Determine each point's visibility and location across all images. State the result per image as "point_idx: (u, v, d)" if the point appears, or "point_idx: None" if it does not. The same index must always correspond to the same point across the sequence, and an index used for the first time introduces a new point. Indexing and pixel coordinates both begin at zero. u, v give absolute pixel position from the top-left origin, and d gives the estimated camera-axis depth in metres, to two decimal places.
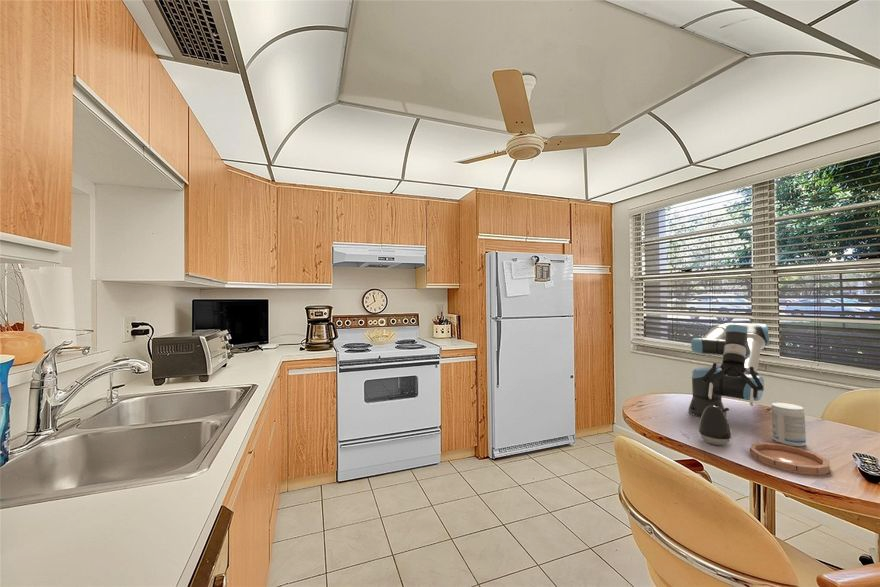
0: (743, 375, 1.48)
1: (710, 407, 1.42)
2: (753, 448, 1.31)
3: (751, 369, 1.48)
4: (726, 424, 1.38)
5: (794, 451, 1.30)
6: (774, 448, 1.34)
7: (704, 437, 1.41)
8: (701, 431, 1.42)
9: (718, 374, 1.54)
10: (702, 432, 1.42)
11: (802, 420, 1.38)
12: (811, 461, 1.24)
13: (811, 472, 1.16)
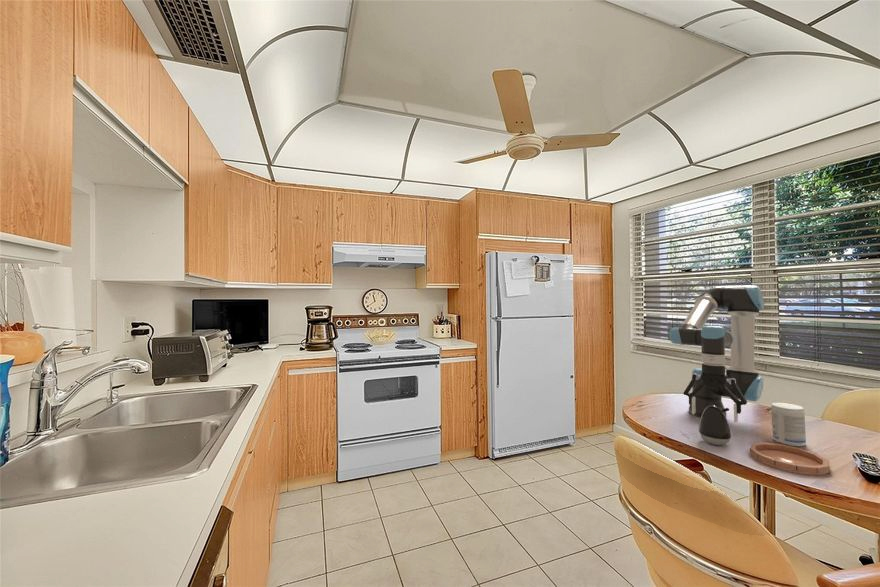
0: (725, 389, 1.38)
1: (710, 407, 1.42)
2: (753, 448, 1.31)
3: (732, 382, 1.37)
4: (726, 424, 1.38)
5: (794, 451, 1.30)
6: (774, 448, 1.34)
7: (704, 437, 1.41)
8: (701, 431, 1.42)
9: (699, 388, 1.45)
10: (702, 432, 1.42)
11: (802, 420, 1.38)
12: (811, 461, 1.24)
13: (811, 472, 1.16)
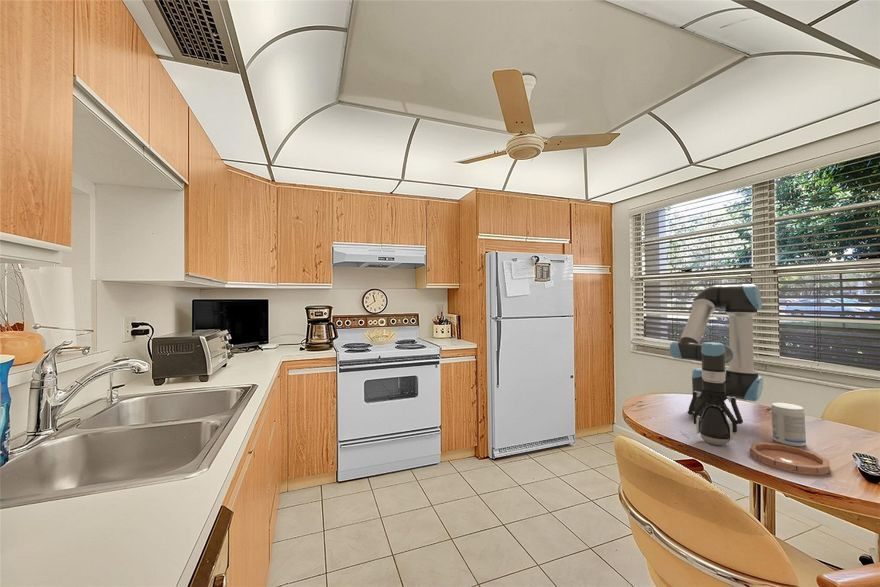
0: (723, 407, 1.39)
1: (710, 407, 1.42)
2: (753, 448, 1.31)
3: (732, 401, 1.37)
4: (726, 424, 1.38)
5: (794, 451, 1.30)
6: (774, 448, 1.34)
7: (704, 437, 1.41)
8: (701, 431, 1.42)
9: (701, 406, 1.44)
10: (702, 432, 1.42)
11: (802, 420, 1.38)
12: (811, 461, 1.24)
13: (811, 472, 1.16)
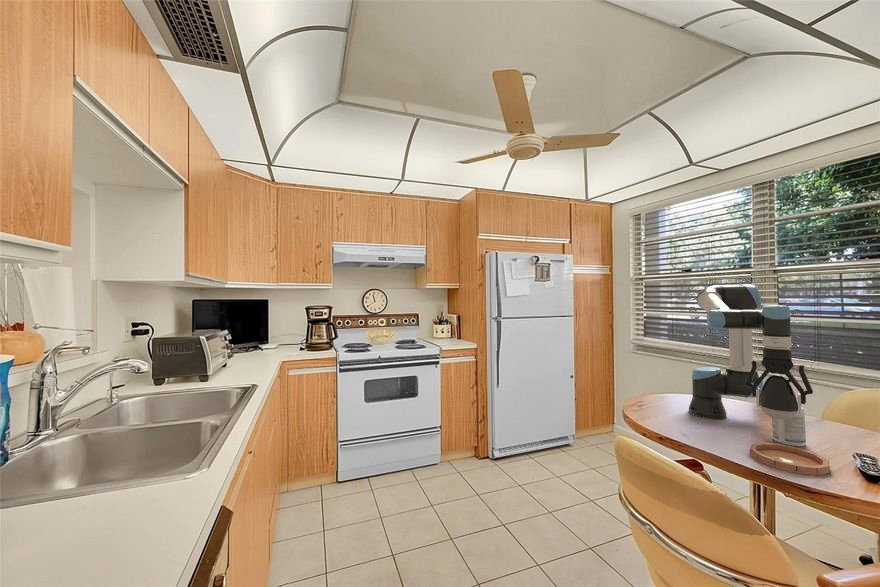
0: (789, 376, 1.24)
1: (773, 377, 1.27)
2: (753, 448, 1.31)
3: (801, 369, 1.22)
4: (793, 395, 1.23)
5: (794, 451, 1.30)
6: (774, 448, 1.34)
7: (767, 410, 1.27)
8: (763, 404, 1.28)
9: (762, 376, 1.30)
10: (764, 405, 1.27)
11: (802, 420, 1.38)
12: (811, 461, 1.24)
13: (811, 472, 1.16)
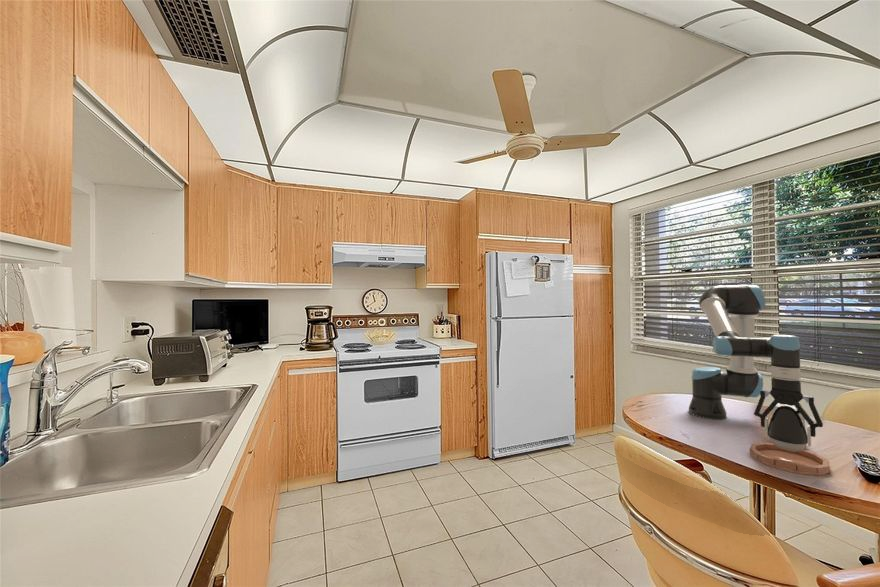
0: (799, 408, 1.23)
1: (782, 408, 1.25)
2: (753, 448, 1.31)
3: (810, 401, 1.21)
4: (803, 427, 1.22)
5: None
6: (774, 448, 1.34)
7: (776, 442, 1.25)
8: (772, 435, 1.26)
9: (771, 406, 1.28)
10: (773, 436, 1.25)
11: (802, 420, 1.38)
12: (811, 461, 1.24)
13: (811, 472, 1.16)
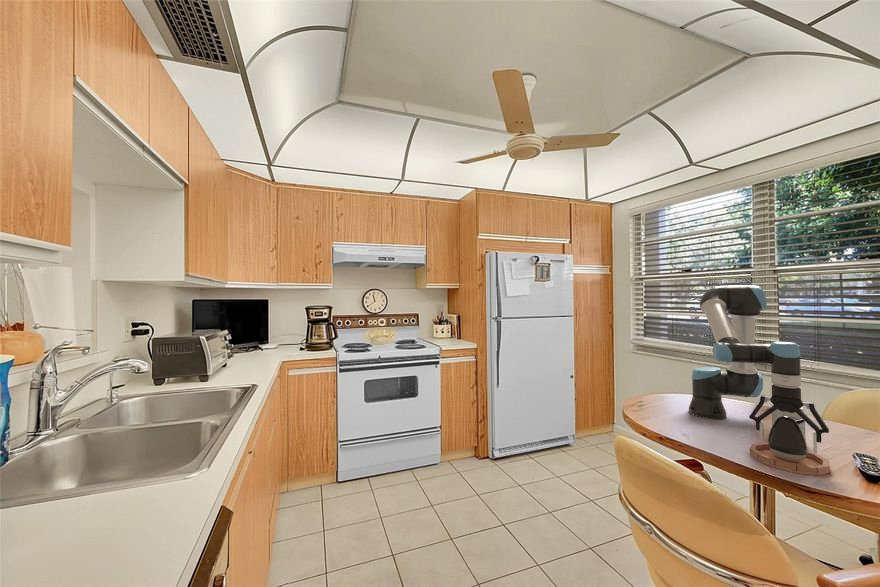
0: (801, 415, 1.22)
1: (782, 418, 1.25)
2: (753, 448, 1.31)
3: (811, 407, 1.21)
4: (803, 438, 1.22)
5: None
6: None
7: (776, 452, 1.25)
8: (772, 445, 1.26)
9: (769, 412, 1.28)
10: (773, 447, 1.25)
11: None
12: (811, 461, 1.24)
13: (811, 472, 1.16)
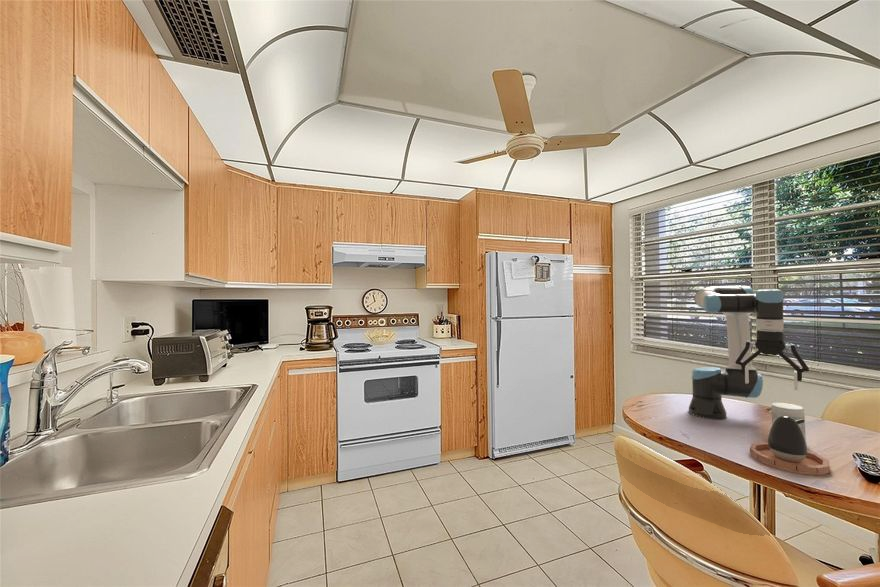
0: (784, 356, 1.30)
1: (782, 418, 1.25)
2: (753, 448, 1.31)
3: (793, 348, 1.28)
4: (803, 438, 1.22)
5: None
6: None
7: (776, 452, 1.25)
8: (772, 445, 1.26)
9: (753, 356, 1.36)
10: (773, 447, 1.25)
11: None
12: (811, 461, 1.24)
13: (811, 472, 1.16)
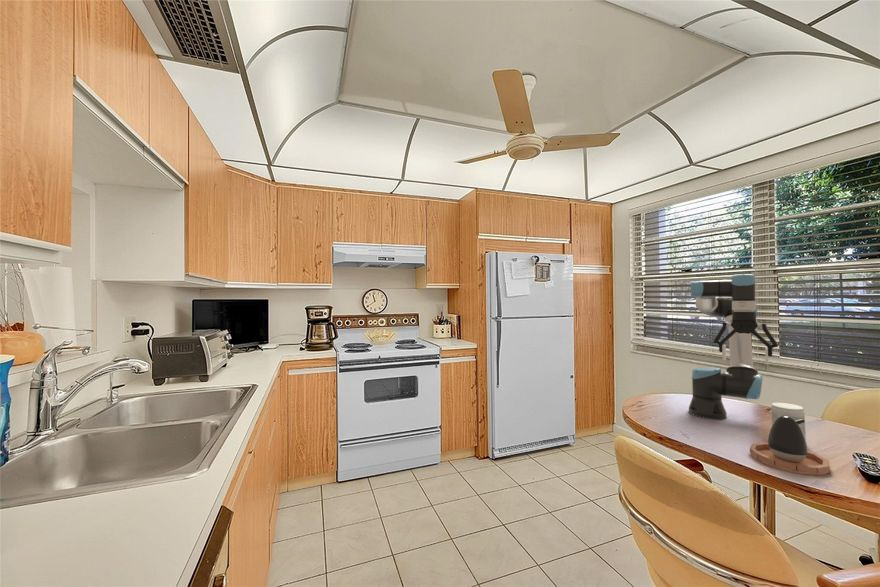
0: (756, 334, 1.43)
1: (782, 418, 1.25)
2: (753, 448, 1.31)
3: (763, 326, 1.41)
4: (803, 438, 1.22)
5: None
6: None
7: (776, 452, 1.25)
8: (772, 445, 1.26)
9: (729, 335, 1.49)
10: (773, 447, 1.25)
11: None
12: (811, 461, 1.24)
13: (811, 472, 1.16)
